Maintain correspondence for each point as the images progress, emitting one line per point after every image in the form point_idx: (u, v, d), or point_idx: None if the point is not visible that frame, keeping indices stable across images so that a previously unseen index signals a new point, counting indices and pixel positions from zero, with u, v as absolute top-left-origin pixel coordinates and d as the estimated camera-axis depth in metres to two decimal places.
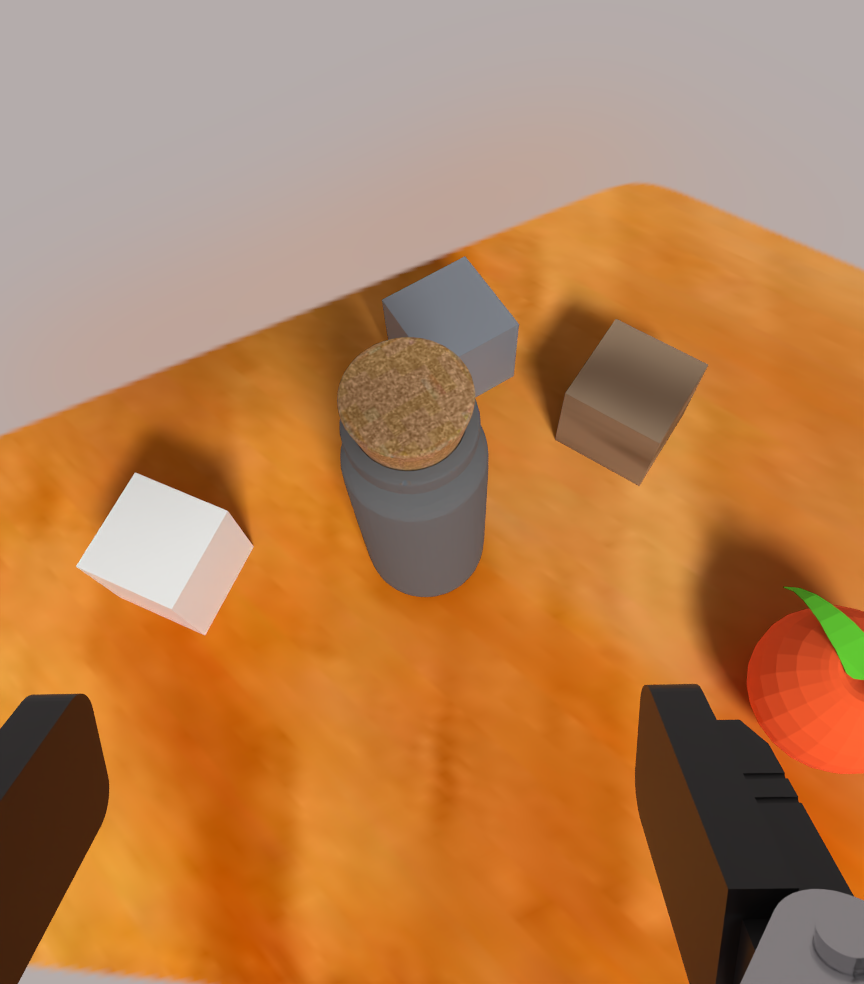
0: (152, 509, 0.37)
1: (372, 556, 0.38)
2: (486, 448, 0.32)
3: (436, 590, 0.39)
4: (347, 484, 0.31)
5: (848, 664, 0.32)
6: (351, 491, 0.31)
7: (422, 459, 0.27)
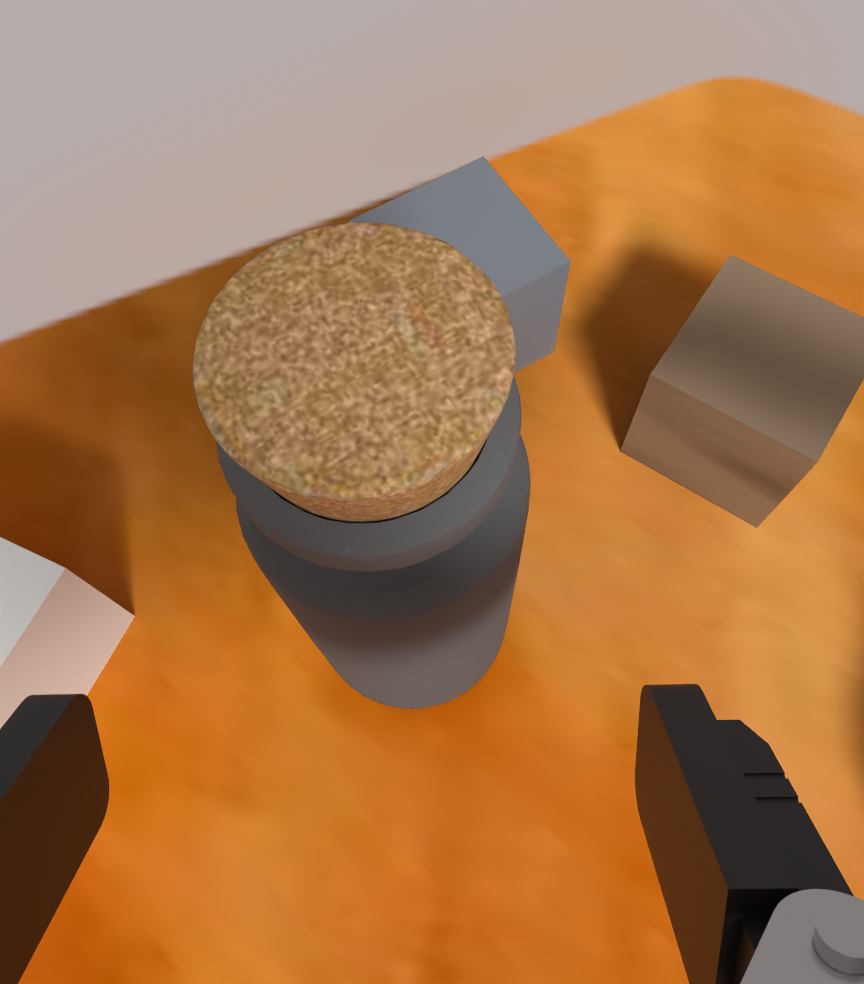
0: None
1: None
2: (527, 470, 0.16)
3: (427, 702, 0.23)
4: (245, 539, 0.15)
5: None
6: (252, 554, 0.15)
7: (387, 501, 0.11)
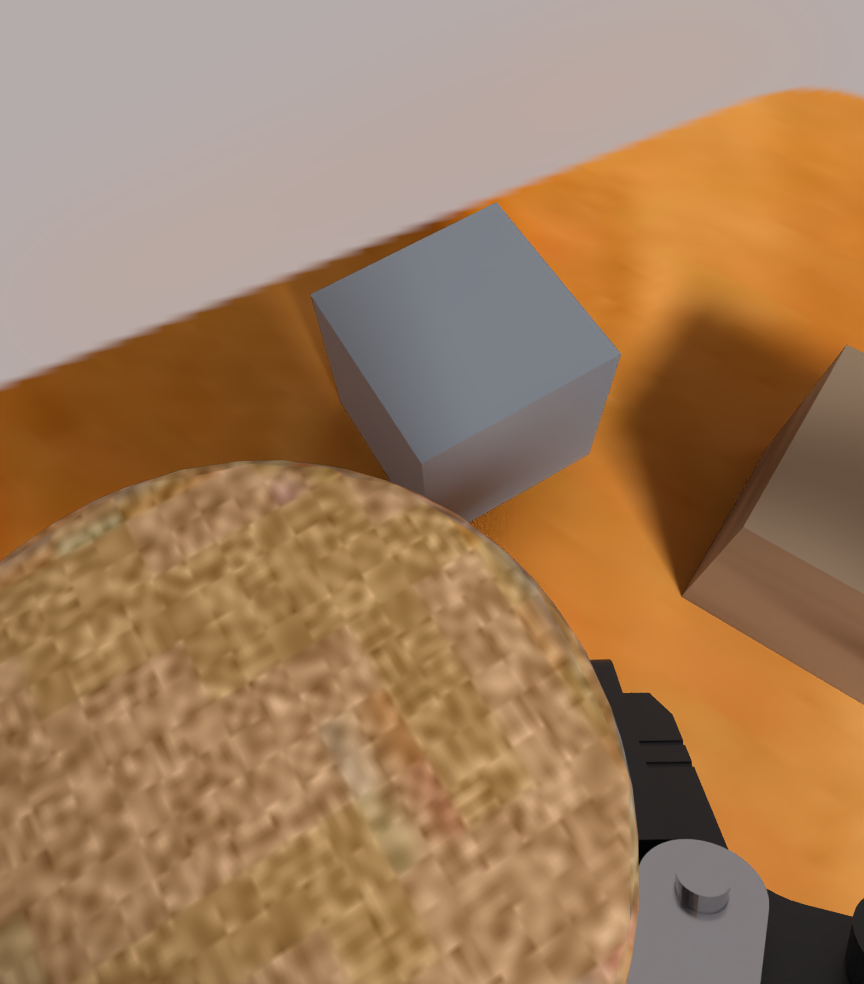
0: None
1: None
2: None
3: None
4: None
5: None
6: None
7: None
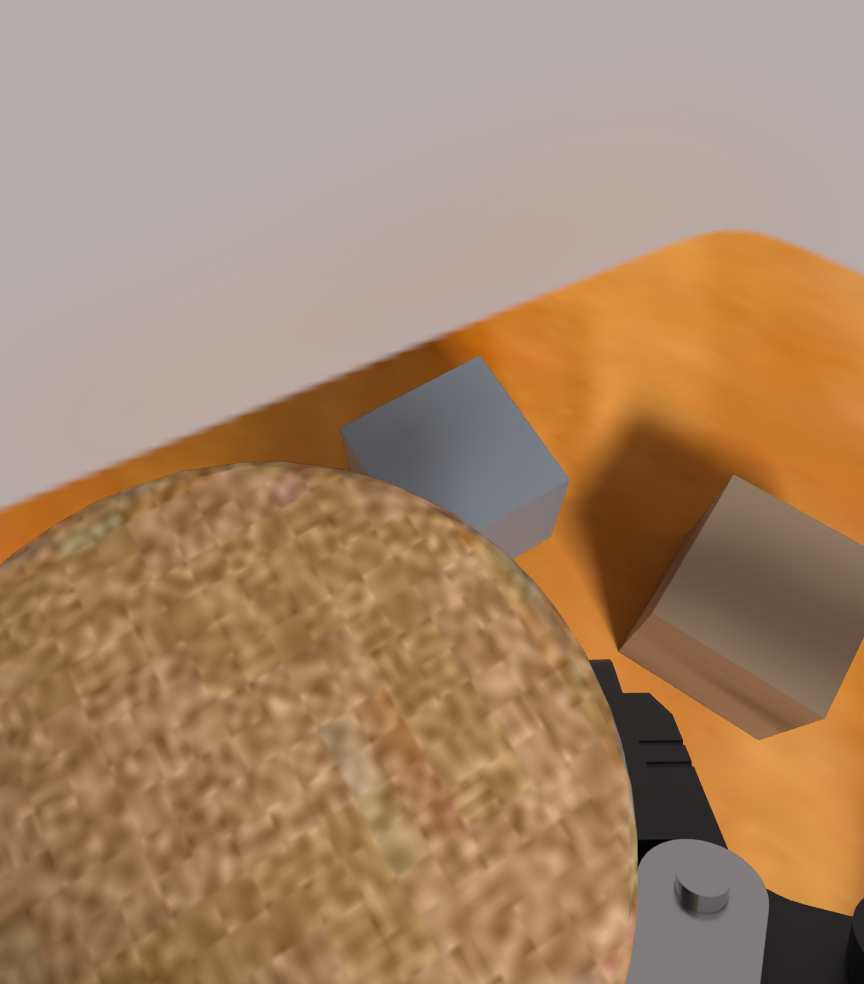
0: None
1: None
2: None
3: None
4: None
5: None
6: None
7: None
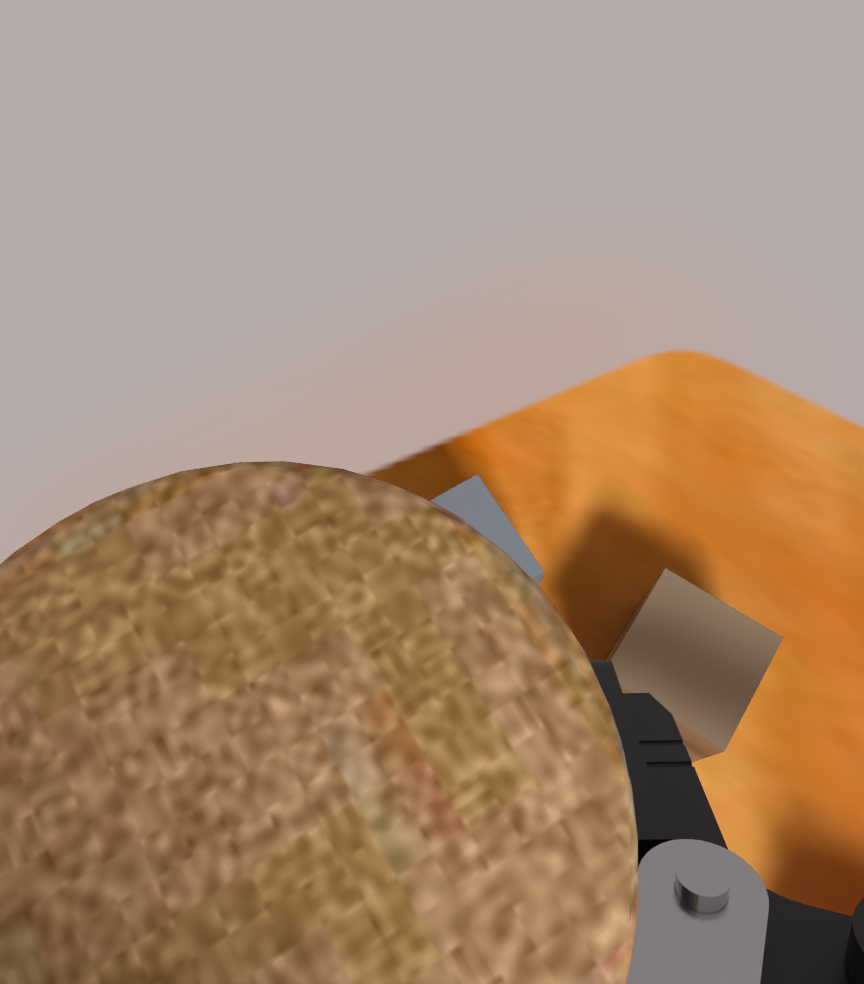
0: None
1: None
2: None
3: None
4: None
5: None
6: None
7: None
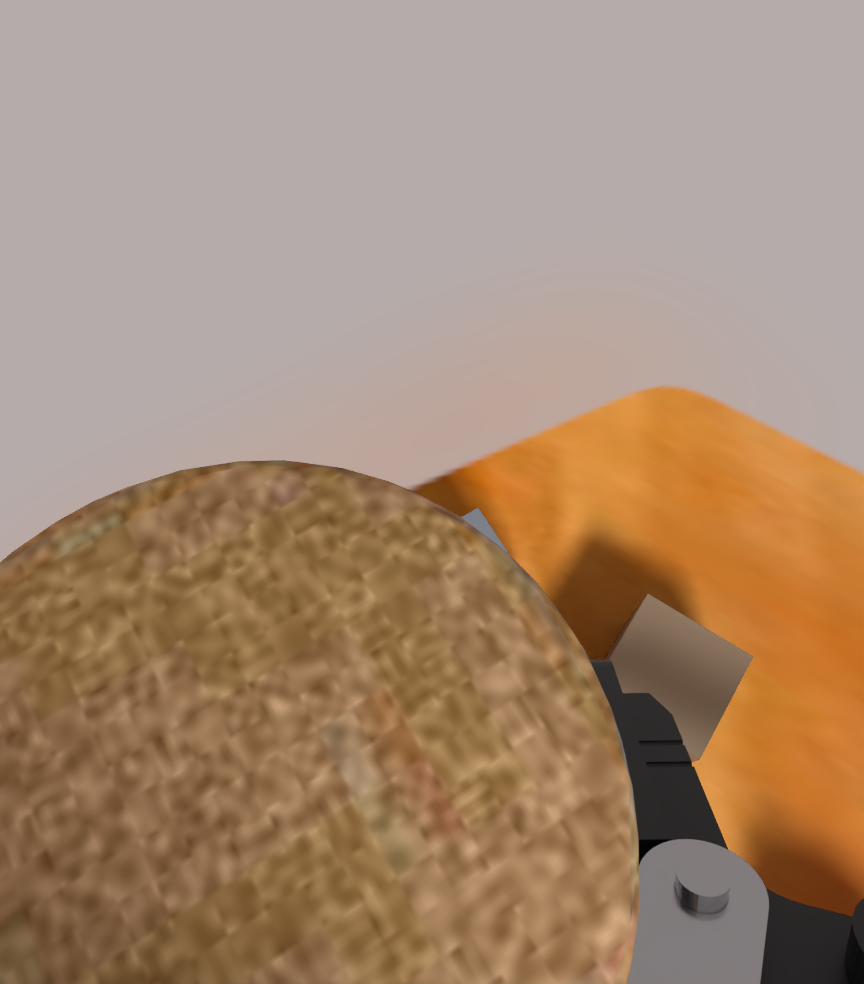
0: None
1: None
2: None
3: None
4: None
5: None
6: None
7: None
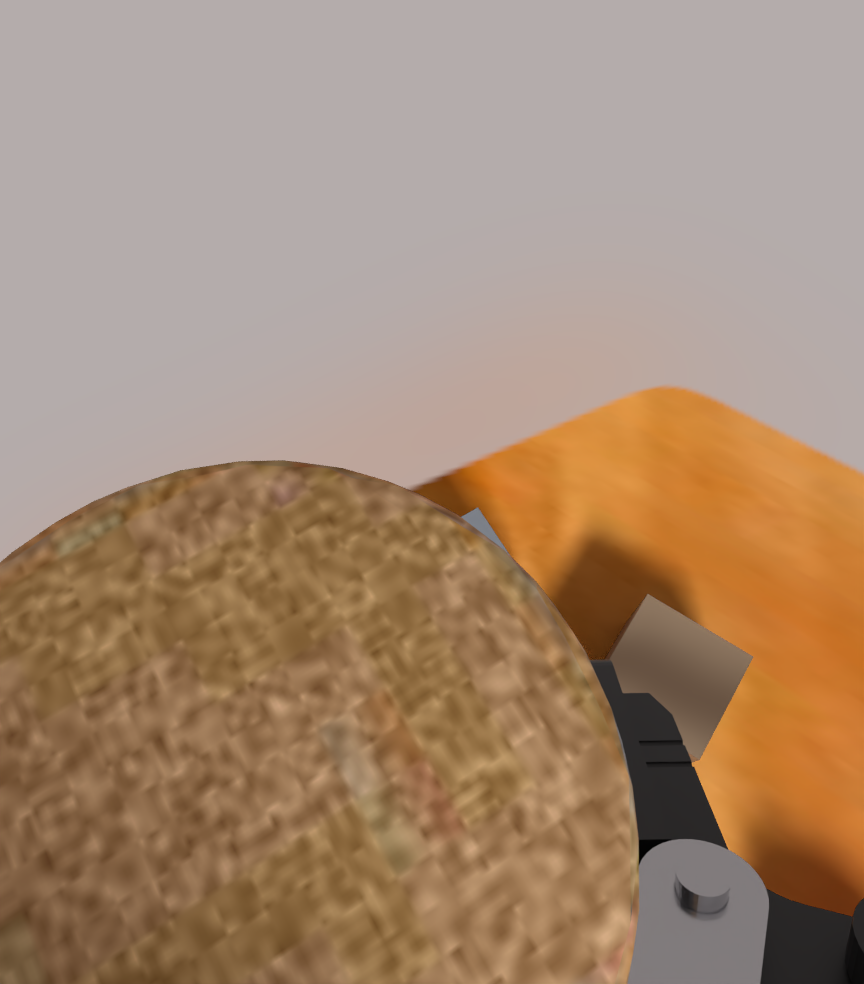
0: None
1: None
2: None
3: None
4: None
5: None
6: None
7: None
